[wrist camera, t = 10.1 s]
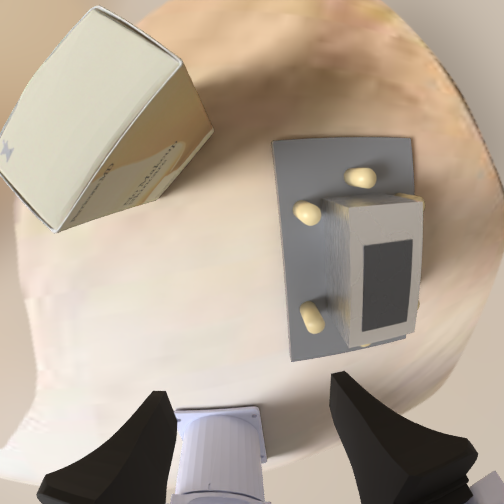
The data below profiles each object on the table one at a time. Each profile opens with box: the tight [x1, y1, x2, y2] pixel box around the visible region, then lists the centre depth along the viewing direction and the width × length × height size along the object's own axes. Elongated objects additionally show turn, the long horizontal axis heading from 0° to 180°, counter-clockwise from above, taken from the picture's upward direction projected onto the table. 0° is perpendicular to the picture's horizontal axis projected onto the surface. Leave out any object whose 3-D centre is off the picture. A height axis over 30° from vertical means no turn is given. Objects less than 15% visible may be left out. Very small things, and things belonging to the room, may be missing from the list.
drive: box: [321, 193, 423, 348], centre depth 17 cm, size 8×4×5 cm, turn 7°
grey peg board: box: [271, 137, 425, 362], centre depth 19 cm, size 16×10×3 cm, turn 6°
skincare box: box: [0, 6, 214, 233], centre depth 12 cm, size 6×4×12 cm
